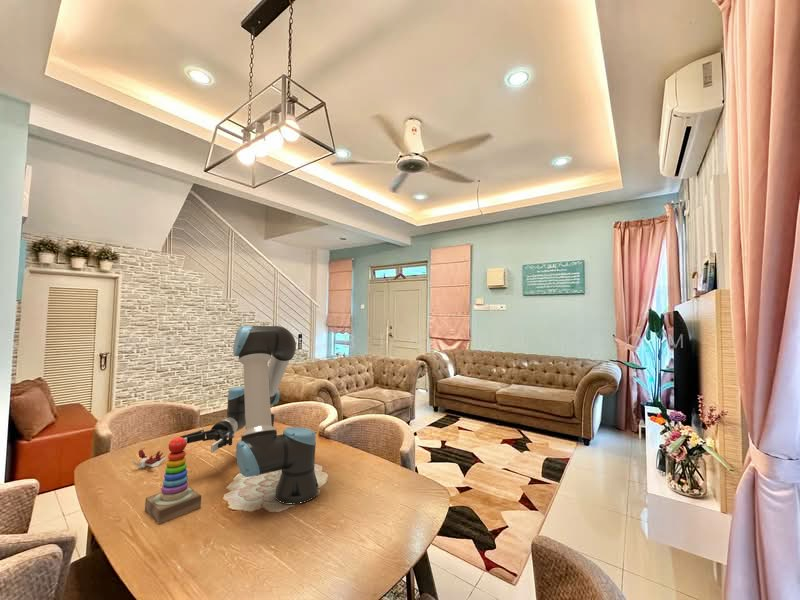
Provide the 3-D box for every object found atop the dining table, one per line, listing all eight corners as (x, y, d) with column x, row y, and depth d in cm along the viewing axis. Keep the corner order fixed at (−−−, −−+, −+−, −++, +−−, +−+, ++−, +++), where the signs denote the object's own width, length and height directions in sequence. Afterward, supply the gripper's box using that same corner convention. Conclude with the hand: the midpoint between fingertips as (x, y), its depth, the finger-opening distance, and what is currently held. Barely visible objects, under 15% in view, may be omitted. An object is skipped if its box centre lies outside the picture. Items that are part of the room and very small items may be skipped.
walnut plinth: (200, 507, 114) (201, 494, 114) (159, 524, 104) (160, 509, 105) (184, 495, 121) (185, 483, 121) (144, 510, 111) (145, 496, 112)
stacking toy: (194, 490, 117) (197, 434, 118) (176, 502, 109) (180, 442, 110) (172, 488, 117) (176, 433, 119) (153, 500, 109) (158, 441, 111)
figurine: (173, 467, 143) (174, 451, 144) (140, 477, 134) (141, 459, 134) (158, 458, 152) (159, 442, 152) (126, 466, 142) (127, 450, 143)
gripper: (252, 439, 143) (226, 460, 122) (194, 437, 144) (158, 457, 123) (253, 421, 144) (228, 439, 123) (195, 419, 144) (159, 436, 123)
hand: (193, 448), depth 123 cm, fingers open, 13 cm apart
